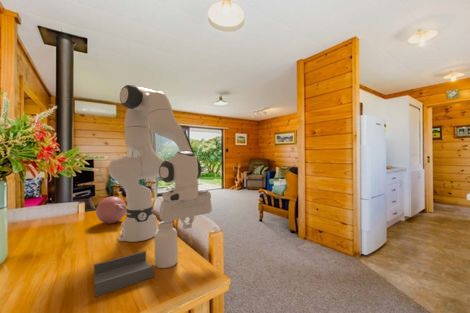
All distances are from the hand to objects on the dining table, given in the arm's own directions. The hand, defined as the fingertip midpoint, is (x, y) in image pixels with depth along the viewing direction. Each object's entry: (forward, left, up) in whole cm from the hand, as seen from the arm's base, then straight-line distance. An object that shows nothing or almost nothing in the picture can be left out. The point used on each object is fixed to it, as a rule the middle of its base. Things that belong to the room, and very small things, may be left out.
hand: (187, 228), depth 81 cm
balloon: (-63, -20, -11) cm, 67 cm away
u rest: (0, -22, -11) cm, 25 cm away
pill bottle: (0, -8, -11) cm, 14 cm away
